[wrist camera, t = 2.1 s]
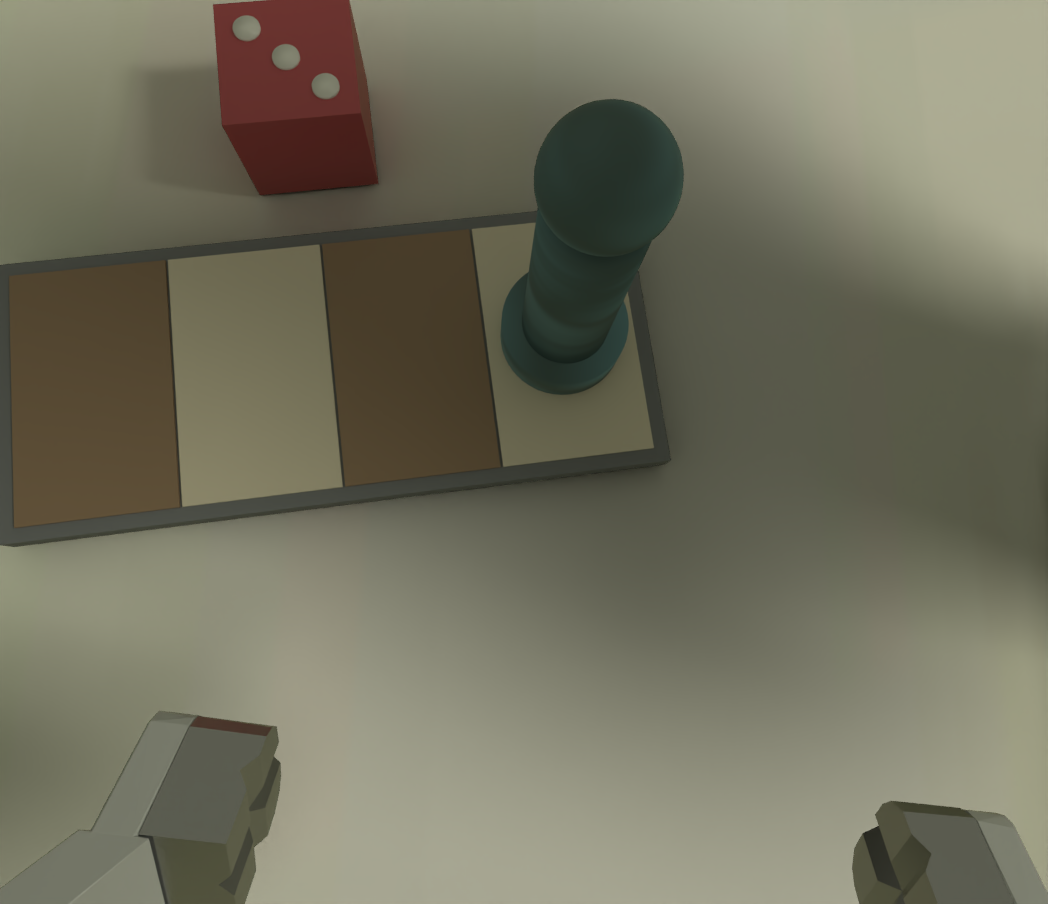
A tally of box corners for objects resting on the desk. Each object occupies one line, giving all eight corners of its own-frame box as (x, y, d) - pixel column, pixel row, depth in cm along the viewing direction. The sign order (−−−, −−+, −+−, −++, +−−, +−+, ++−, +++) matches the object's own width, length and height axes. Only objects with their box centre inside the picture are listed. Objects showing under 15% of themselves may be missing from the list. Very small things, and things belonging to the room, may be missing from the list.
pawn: (611, 273, 29) (705, 36, 17) (630, 387, 28) (742, 224, 16) (493, 285, 29) (502, 53, 17) (508, 401, 28) (530, 246, 16)
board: (622, 213, 31) (627, 200, 30) (665, 464, 29) (671, 459, 28) (8, 275, 29) (-8, 264, 28) (14, 546, 27) (-3, 544, 26)
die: (366, 77, 31) (347, -11, 27) (378, 183, 31) (360, 111, 26) (251, 87, 31) (211, -1, 26) (260, 195, 30) (220, 123, 26)
